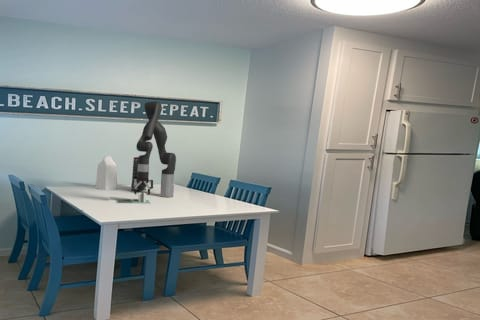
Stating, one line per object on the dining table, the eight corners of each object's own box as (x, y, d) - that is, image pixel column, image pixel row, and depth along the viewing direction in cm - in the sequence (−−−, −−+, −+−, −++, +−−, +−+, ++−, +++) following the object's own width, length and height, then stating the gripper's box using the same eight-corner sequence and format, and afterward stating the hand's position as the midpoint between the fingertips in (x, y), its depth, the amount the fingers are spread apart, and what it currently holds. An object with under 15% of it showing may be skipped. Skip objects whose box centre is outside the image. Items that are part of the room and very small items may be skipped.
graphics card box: (138, 188, 374) (140, 155, 372) (146, 189, 373) (148, 156, 371) (131, 191, 357) (132, 156, 355) (139, 192, 356) (141, 157, 354)
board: (147, 201, 316) (148, 198, 316) (150, 204, 302) (150, 202, 302) (115, 201, 308) (115, 198, 308) (116, 204, 295) (116, 201, 295)
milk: (105, 190, 355) (106, 157, 353) (95, 188, 361) (97, 155, 359) (117, 189, 365) (118, 156, 363) (107, 187, 371) (108, 155, 369)
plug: (144, 201, 310) (145, 192, 309) (145, 202, 306) (146, 193, 305) (138, 201, 308) (138, 192, 308) (139, 202, 304) (139, 192, 304)
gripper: (153, 170, 312) (151, 194, 313) (131, 169, 307) (130, 193, 308) (154, 171, 305) (153, 195, 306) (132, 170, 300) (131, 195, 301)
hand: (141, 194), depth 307 cm, fingers open, 8 cm apart
